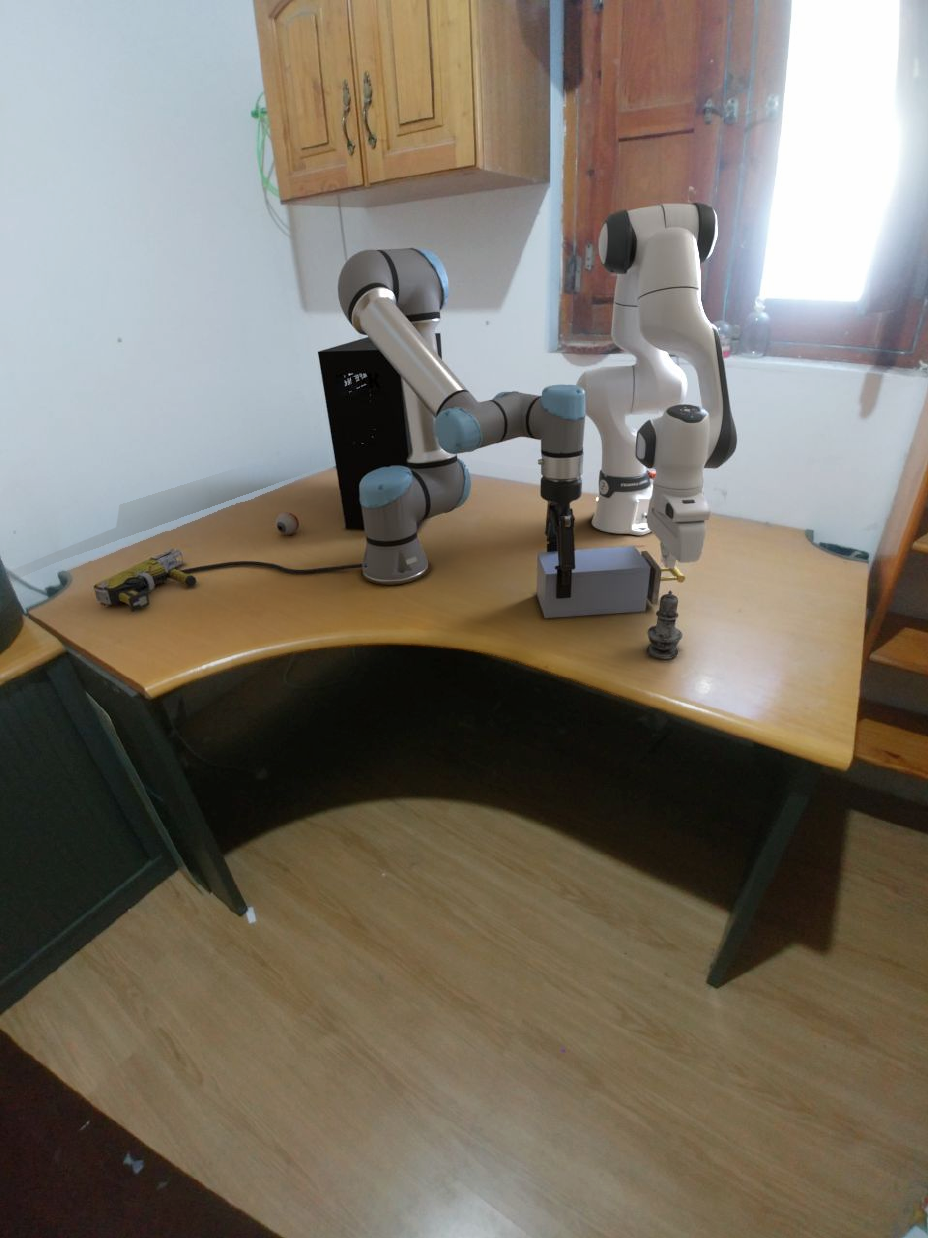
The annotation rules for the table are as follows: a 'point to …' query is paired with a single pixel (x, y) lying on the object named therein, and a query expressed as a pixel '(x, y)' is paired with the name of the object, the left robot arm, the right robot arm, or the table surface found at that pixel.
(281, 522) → the eyeball
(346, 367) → the black tall box
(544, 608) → the cabinet
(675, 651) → the dark grey chess piece
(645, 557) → the drawer
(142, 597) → the toy gun
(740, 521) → the table surface
